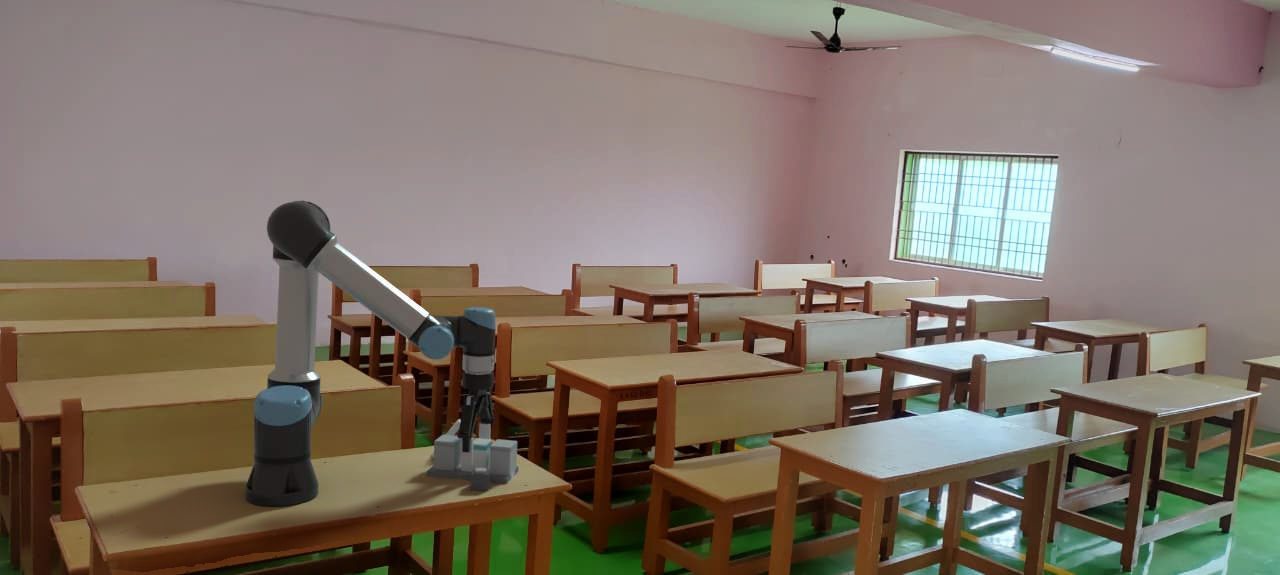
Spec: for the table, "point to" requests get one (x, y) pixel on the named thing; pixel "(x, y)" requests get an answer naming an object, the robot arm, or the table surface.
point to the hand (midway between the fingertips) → (475, 456)
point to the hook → (452, 430)
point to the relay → (480, 479)
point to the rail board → (450, 467)
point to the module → (479, 454)
